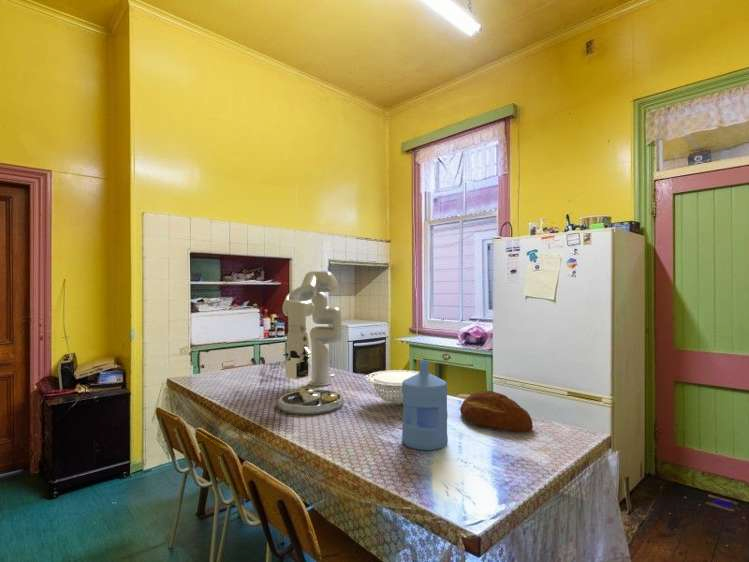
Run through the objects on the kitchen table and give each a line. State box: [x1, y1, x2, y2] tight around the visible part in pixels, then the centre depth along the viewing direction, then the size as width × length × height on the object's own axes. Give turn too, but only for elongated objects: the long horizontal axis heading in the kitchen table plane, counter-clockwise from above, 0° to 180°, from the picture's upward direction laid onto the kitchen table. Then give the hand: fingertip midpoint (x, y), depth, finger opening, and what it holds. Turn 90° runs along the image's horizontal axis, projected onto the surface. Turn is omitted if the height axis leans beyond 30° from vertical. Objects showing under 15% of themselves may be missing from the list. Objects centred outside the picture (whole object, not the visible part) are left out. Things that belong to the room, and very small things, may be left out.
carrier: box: [278, 387, 344, 416], centre depth 189 cm, size 29×29×6 cm
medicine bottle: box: [285, 351, 310, 380], centre depth 183 cm, size 7×7×12 cm
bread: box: [459, 389, 534, 433], centre depth 164 cm, size 21×33×12 cm, turn 33°
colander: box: [363, 369, 420, 406], centre depth 189 cm, size 32×32×13 cm
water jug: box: [401, 360, 449, 451], centre depth 144 cm, size 16×16×28 cm
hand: (297, 369), depth 183 cm, fingers closed on medicine bottle, 7 cm apart
